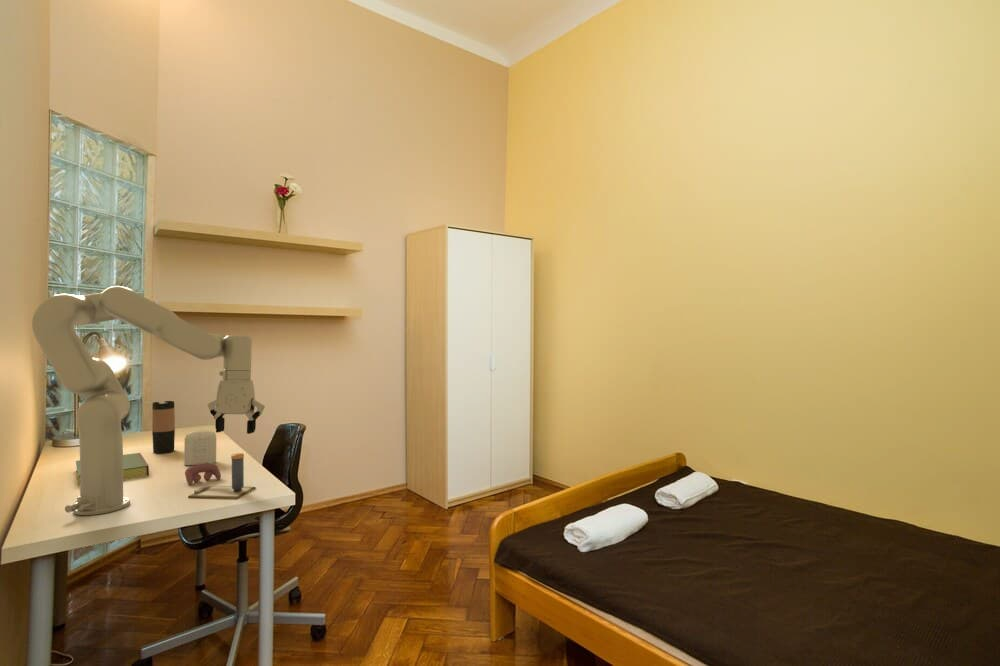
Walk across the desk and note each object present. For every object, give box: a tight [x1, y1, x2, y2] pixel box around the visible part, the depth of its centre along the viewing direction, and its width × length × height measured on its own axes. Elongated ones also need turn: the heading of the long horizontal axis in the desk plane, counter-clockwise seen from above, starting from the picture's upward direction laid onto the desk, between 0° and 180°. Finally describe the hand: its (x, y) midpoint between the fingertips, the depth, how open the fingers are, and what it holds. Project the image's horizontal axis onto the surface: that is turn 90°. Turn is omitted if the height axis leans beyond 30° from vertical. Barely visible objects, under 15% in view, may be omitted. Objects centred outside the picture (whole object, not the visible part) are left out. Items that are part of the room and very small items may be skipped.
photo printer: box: [183, 429, 217, 466], centre depth 192 cm, size 10×4×12 cm, turn 113°
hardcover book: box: [75, 452, 150, 486], centre depth 181 cm, size 25×19×4 cm
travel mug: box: [151, 400, 176, 455], centre depth 211 cm, size 8×8×20 cm
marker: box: [230, 452, 245, 492], centre depth 159 cm, size 3×3×11 cm
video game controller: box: [184, 462, 222, 486], centre depth 171 cm, size 10×5×7 cm, turn 136°
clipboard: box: [187, 485, 256, 500], centre depth 158 cm, size 10×15×1 cm, turn 86°
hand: (235, 432), depth 158 cm, fingers open, 9 cm apart
